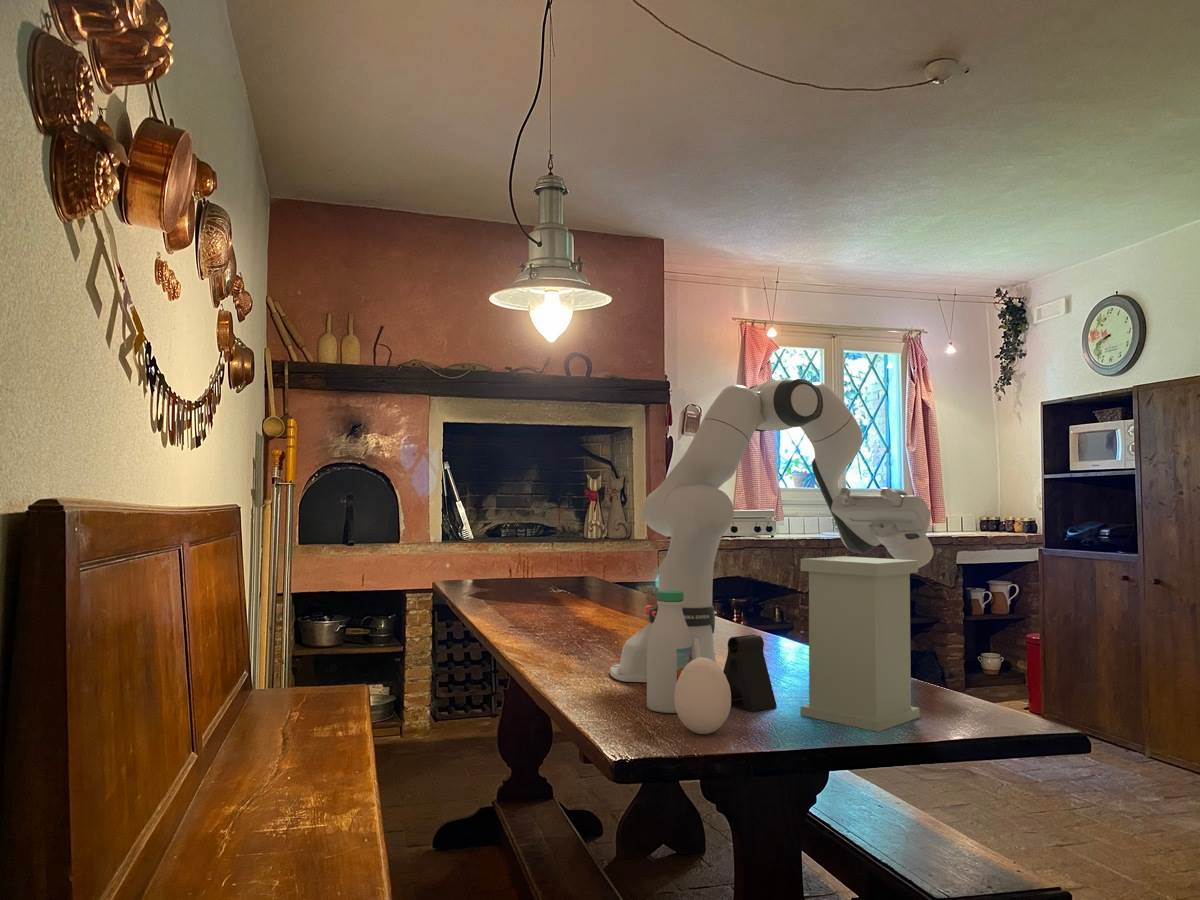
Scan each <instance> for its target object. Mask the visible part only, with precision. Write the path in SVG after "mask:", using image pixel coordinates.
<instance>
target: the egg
mask: <svg viewBox="0 0 1200 900" xmlns="http://www.w3.org/2000/svg"><path fill="white" fill-rule="evenodd" d="M674 702H675V708H676V712H677V713H676V714H677V716H678V718H679V720H680V721H681V722H682V724H683V725H684V726H685V727H686V728H687V729H688V730H690V731H691V732H693V733H696V734H700V735H709V734H712V733H713V732H716V731H717V730H719V728H720V727H722V725H724V723H725V722H726V721H727V719H728V717H729V714H730V711H731V708H732V707H731V691H730V685H729V683H728V681H727V678H726V676H725V674H724V672H723V669H722V668H721V666H719V664H718V663H717V664H716V663H715V662H714V661H712V660H711V659H708V658H703V657H700V658H696V659H694V660H692V661H691V662H689V663H688V664H687V665H686V667H685V668H684V669H683V670H682V672H681V674H680V676H679V678H678V681H677V683H676V687H675V695H674Z"/></svg>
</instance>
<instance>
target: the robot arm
mask: <svg viewBox="0 0 1200 900" xmlns="http://www.w3.org/2000/svg"><path fill="white" fill-rule="evenodd" d="M792 428H800V429H801V430H802V431H803V433H804V434H805V436H806V438H807V439H808V440H809V441H810V443H811V445H812V447H813V451H814V458H813V460H812V461H811V468H812V472H813V475H814V478H815V481H816V483H817V485H818V487H819V490H820V492H821V495H822V496H823V499H824V500H825V503H826V504H827V507H828V509H829V511H830V513H831V516H832V518H833V520H834V522H835V525H836V527H837V531H838V535H839V537H840V539H841V542H842V543H843V545H844V546H845V547H846V548H847V549H848V551H849V552H852V553H856V554H862V555H867V554H868V553H869V552H871V551H872V550H874V549H876V548H878V546H880V545H883V546H884V547H885V549H886V550H887V552H888V553H889V554H890V555H891V556H892V557H893V559H901V560H918V569H920V568H922V567H924V566H926V565H927V564H929V562H930V561H932V558H933V557H934V548H933V545H932V543H931V541H930V539H929V538H928V536H927V533H928V529H929V527H930V523H931V516H932V515H931V514H932V511H931V510H930V509H929V506H928V504H927V502H926V501H925V500H924V498H923V497H921V496H918V495H909V494H908V493H907V492H905V491H903V490H899V489H891V488H890V487H882V488H881V491H880V495H851V490H850V489H849V488H848V487H840V488H839V485H838V484H839V480H840V477H841V476H842V475H843V473H844V472H845V470H846V469H847V467H848V466H849V465H850V464H851V463H852V461H853V460H854V459H855V457H857V455H858V453H859V451H860V448H861V445H862V442H863V432H862V429H861V426H860V425H859V423H858V421H857V420H856V418H855V416H854V415H853V414H852V412H851V410H850V409H849V407H848V406H847V405H846V404H845V403H844V401H842V399H841V398H840V397H839V396H838V395H837V393H835V392H834V390H832V389H831V388H830V387H829V386H828V385H827V384H825V383H824V382H820V381H814V382H811V381H809V380H807V379H804V378H801V377H789V378H785V379H777V380H769V381H765V382H763V383H760V384H757V385H753V386H750V387H747V386H745V385H743V384H742V385H741V384H731V385H728V386H726V387H725V388H724V389H722V391H721V392H719V394H718V396H716V398H715V400H714V401H713V402H712V403H711V406H709V408H708V410H707V411H706V413H705V415H704V417H703V419H702V421H701V423H700V425H699V427H698V428H697V431H696V432H695V434H694V436H693V439H692V440H691V442H690V444H689V446H688V447H687V449H686V451H685V453H684V454H683V455H682V457H681V458H680V460H679V461H678V462H677V464H676V465H675V466H674V467H673V468H672V470H671V471H670V472H669V474H668V475H667V476H666V477H665V479H664V480H663V481H662V482H661V484H660V485H659V486H657V488H656V489H654V490H652V492H651V493H649V494H648V496H646V498H645V499H644V501H643V505H642V516H643V520H644V522H645V523H646V526H648V527H649V529H650V530H652V531H654V532H656V533H658V534H660V535H662V536H664V537H669V538H670V543H669V546H668V550H667V553H666V556H665V558H664V559H663V561H662V562H661V563H660V565H659V568H658V591H662V590H675V591H682V592H683V594H684V599H683V605H682V611H683V615H684V618H685V621H686V623H687V626H688V628H689V631H690V634H691V640H692V660H694V659H696V658H700V657H703V658H708V659H711V660H712V661H714V662H715V663H716V664H717V665H718V662H717V657H716V656H717V655H716V649H715V641H714V634H715V629H716V613H715V606H714V605H713V583H714V582H713V581H714V578H713V577H714V566H715V561H716V556H717V554H718V553H717V552H718V549H719V546H720V543H721V541H722V537H723V535H725V533H726V532H727V531H728V530H729V528H730V527H731V525H732V523H733V520H734V510H735V509H734V504H733V502H732V500H731V498H730V496H728V494H727V493H726V492H724V491H723V490H721V489H720V488H721V487H722V485H723V484H725V483H726V482H727V481H729V480H730V479H731V478H732V477H733V476H734V474H736V471H737V469H738V466H739V465H740V463H741V461H742V459H743V457H744V454H745V452H746V450H747V448H748V446H749V444H750V442H751V441H752V438H753V436H754V433H755V432H760V433H761V432H767V431H769V432H770V431H784V430H789V429H792ZM657 611H658V604H656V605H655V606H652V605H650V604H649V605H647V604H646V605H645V607H644V608H643V612H644V614H645V615H647V616H648V622H649V623H647V625H645V626H644V627H643V628H641V629H640V630H638V632H636V633H635V634H634V635H632V636H631V637H630V638H628V639H627V640H626V641H625V643H624V645H623V646H622V652H621V654H620V664H614V665H611V667H610V668H609V675H610V677H612V678H613V679H615V680H617V681H621V682H626V683H627V682H628V683H647V649H648V637H649V632H650V629H651V627H652V625H653V622H654V620H655V618H656V615H657Z"/></svg>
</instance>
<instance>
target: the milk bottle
mask: <svg viewBox="0 0 1200 900" xmlns="http://www.w3.org/2000/svg"><path fill="white" fill-rule="evenodd" d="M683 599H684V594H683V592H682V591H675V590H662V591H659V590H658V591H657V592H656V605H658V611H657V615H656V618H655V620H654V622H653V625H652V627H651V629H650V632H649V637H648V649H647V682H646V706H647V709H648V710H650V711H653V712H657V713H664V714H677V712H676V708H675V702H674V695H675V687H676V683H677V681H678V678H679V676H680V674H681V672H682V670H683V669H684V668H685V667H686V665H687V664H688V663H689V662H691V661H692V640H691V634H690V631H689V628H688V626H687V623H686V621H685V618H684V615H683V611H682V605H683Z"/></svg>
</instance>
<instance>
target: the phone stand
mask: <svg viewBox="0 0 1200 900" xmlns="http://www.w3.org/2000/svg"><path fill="white" fill-rule="evenodd" d="M764 645H765V643H764V639H763V637H762V636H761V635H759V634H750V635H749V634H748V635H747V634H746V635H740V636H739V635H738V636H731V637H729V638H728V640H727V655H726V659H725V664H724V666H723V669H722V671H723V672H724V674H725V676H726V678H727V681H728V683H729V685H730V691H731V708H734V709H737V710H741V711H743V712H744V711H745V712H748V713H756V712H760V711H767V710H771V709H776V708H777V702H776V699H775V698H776V697H775V694H774V689H773V687H772V682H771V679H770V678H771V677H770V675H769V671H768V670H769V668H768V665H767V662H766V657H765V654H764Z"/></svg>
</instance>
